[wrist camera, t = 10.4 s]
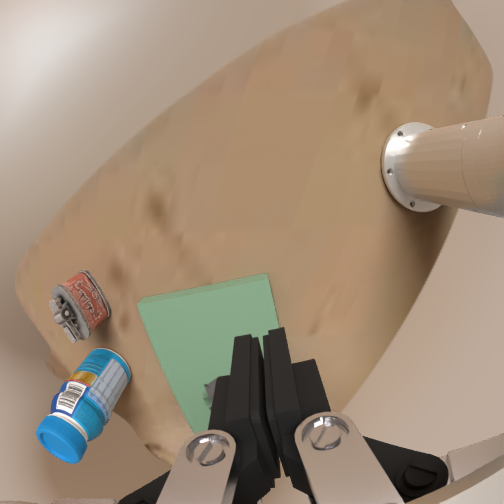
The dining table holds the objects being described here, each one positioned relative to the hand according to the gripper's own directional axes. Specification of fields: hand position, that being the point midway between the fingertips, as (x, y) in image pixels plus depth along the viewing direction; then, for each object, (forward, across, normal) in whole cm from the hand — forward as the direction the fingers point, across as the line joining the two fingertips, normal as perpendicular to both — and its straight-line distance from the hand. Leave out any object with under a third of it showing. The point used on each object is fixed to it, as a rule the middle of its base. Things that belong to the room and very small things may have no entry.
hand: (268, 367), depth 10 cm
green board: (+29, +9, +19) cm, 36 cm away
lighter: (+29, +26, +4) cm, 39 cm away
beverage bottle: (+29, +29, +17) cm, 45 cm away
